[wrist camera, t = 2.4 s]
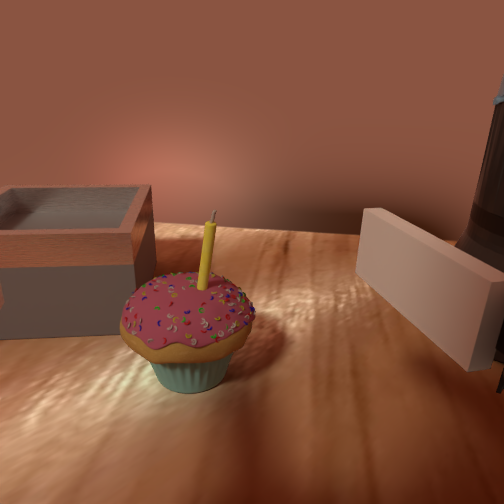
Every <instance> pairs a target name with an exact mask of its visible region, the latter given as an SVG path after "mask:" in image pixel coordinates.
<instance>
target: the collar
mask: <svg viewBox="0 0 504 504" xmlns="http://www.w3.org/2000/svg"><path fill="white" fill-rule="evenodd" d="M152 209H153V205H152V191H151V185H18V186H17V185H14V186H13V185H5V186H3V187H1V188H0V225H2V224H3V223H4V222H5V221H7V220H8V219H9V218H11V217H12V216H13V215H14V214H16V213H54V212H127V213H126V215H125V217H124V219H123V221H122V223H121V225H120V227H119V228H94V229H35V230H0V268H19V267H57V266H95V265H133V264H134V262H135V259H136V256H137V253H138V250H139V247H140V245H141V242H142V239H143V236H144V233H145V230H146V227H147V224H148V221H149V218H150V215H151V212H152Z"/></svg>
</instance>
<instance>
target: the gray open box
mask: <svg viewBox="0 0 504 504" xmlns="http://www.w3.org/2000/svg"><path fill="white" fill-rule="evenodd" d="M126 213H127V212H54V213H16V214H14V215H13V216H12V217H11V218H9V219H8V220H7V221H5V222H4V223H3V224H2V225H0V230H35V229H94V228H119V227H120V225H121V223H122V221H123V219H124V217H125V215H126ZM155 266H156V248H155V234H154V219H153V209H152V212H151V215H150V218H149V221H148V224H147V227H146V230H145V233H144V236H143V239H142V242H141V245H140V247H139V250H138V253H137V256H136V259H135V262H134V264H133V265H95V266H57V267H19V268H0V283H1V288H2V293H3V298H4V304H3V306H2V307H1V309H0V340H6V339H28V338H51V337H74V336H96V335H119V334H120V321H121V317H122V312H123V308H124V306H125V304H126V301H127V300H129V298H130V297H131V296H132V295H133V294H132V292H135V289H136V288H138V289H139V288H140V287H141V286H142V285H143V284H145V283H147V282H149V281H151V280H152V279H153V274H154V270H155Z"/></svg>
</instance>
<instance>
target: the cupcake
mask: <svg viewBox="0 0 504 504" xmlns="http://www.w3.org/2000/svg"><path fill="white" fill-rule="evenodd" d="M216 212H217V211H216V210H214V211H213V212H212V217H211V220H210V221H207V222H206V223H205V230H204V238H203V245H202V253H201V260H200V268H199V272H189V273H187V272H186V273H183V272H179V273H178V274H175V273H172V272H171V274H170V275H169V274H165V275H164V274H163V275H162V276H161V277H160V276H159V277H155V278H154V279H153V280H151V281H149V282H147V283H145V284H143V285H142V286H141V287H140V288H139V289H138V288H136V289H135V292H132V294H133V295H132V296H131V297H130V298H129V300H127V301H126V304H125V306H124V308H123V312H122V317H121V321H120V334H121V336H122V338H123V340H124V341H125V343H126V344H127V345H128V346H129V347H130V348H131V349H132V350H134V351H135V352H136V353H138V354H139V355H141V356H142V357H144V358H145V359H146V360H148V361H149V362H150V363H151V365H152V367H153V369H154V371H155V373H156V376H157V378H158V380H159V381H160V383H161V384H162V385H163V386H164V387H166V388H167V389H169V390H172V391H174V392H178V393H199V392H203V391H206V390H208V389H211V388H212V387H214V386H216V385H217V384H218V383H219V382H220V381H221V380H222V379H223V378H224V376H225V374H226V371H227V368H228V365H229V362H230V359H231V357H232V354H233V352H234V351H236V350H239V349H240V348H242V347H243V345H244V343H245V341H246V339H247V337H248V335H249V333H250V332H251V328H252V321H253V320H254V319H255V312H256V311H255V308H254V307H253V302H250V301H249V299H248V298H247V297H246V294H245V293H244V292H242V290H241V288H240V287H236V285H234V284H233V283H232V282H231V281H229V280H228V279H225V278H224V277H223V276H221V277H220V276H217V275H214V274H213V273H210V267H211V260H212V253H213V246H214V239H215V232H216V225H217V224H216V223H215V222H214V219H215V214H216Z"/></svg>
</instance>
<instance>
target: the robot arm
mask: <svg viewBox="0 0 504 504" xmlns="http://www.w3.org/2000/svg"><path fill="white" fill-rule="evenodd" d="M493 105H495V110H494V114H493V119H492V123H491V128H490V132H489V136H488V141H487V145H486V150H485V155H484V158H483V163H482V167H481V171H480V176H479V180H478V184H477V188H476V192H475V196H474V201H473V205H472V209H471V214H470V218H469V222H468V225H467V227H466V229H465V230H464V232H463V234H462V235H461V237H460V238H459V240H458V241H457V243H456V245H455V246H452V245H450V244H448V243H446V242H445V241H443V240H441V239H439V238H437V237H435V236H433V235H431V234H429V233H427V232H426V231H424V230H422V229H420V228H418V227H416V226H415V225H413V224H411V223H409V222H407V221H405V220H403V219H401V218H400V217H398V216H396V215H394V214H392V213H390V212H388V211H386V210H385V209H383V208H370V209H369V208H367V209H364V213H363V220H362V228H361V235H360V242H359V249H358V257H357V264H356V271H355V273H356V274H357V275H358V276H360V277H361V278H362V279H363V280H364V281H365V282H366V283H367V284H369V285H370V286H371V287H372V288H373V289H374V290H375V291H376V292H378V293H379V294H380V295H381V296H382V297H383V298H384V299H385V300H387V301H388V302H389V303H390V304H391V305H392V306H393V307H394V308H396V309H397V310H398V311H399V312H400V313H401V314H402V315H403V316H405V317H406V318H407V319H408V320H409V321H410V322H411V323H412V324H414V325H415V326H416V327H417V328H418V329H419V330H420V331H422V332H423V333H424V334H425V335H426V336H427V337H428V338H429V339H431V340H432V341H433V342H434V343H435V344H436V345H437V346H438V347H440V348H441V349H442V350H443V351H444V352H445V353H446V354H447V355H449V356H450V357H451V358H452V359H453V360H454V361H455V362H456V363H458V364H459V365H460V366H461V367H462V368H463V369H464V370H465V371H467V372H472V371H479V370H485V369H491V365H492V362H493V359H495V360H497V361H500V362H502V363H504V75H503V78H502V81H501V85H500V88H499V91H498V95H497V97H495V98H494V100H493ZM3 304H4V298H3V293H2V288H1V283H0V309H1V307H2V306H3ZM502 389H504V368H503V371H502V375H501V378H500V381H499V385H498V388H497V391H496V393H500V394H501V392H502Z"/></svg>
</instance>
